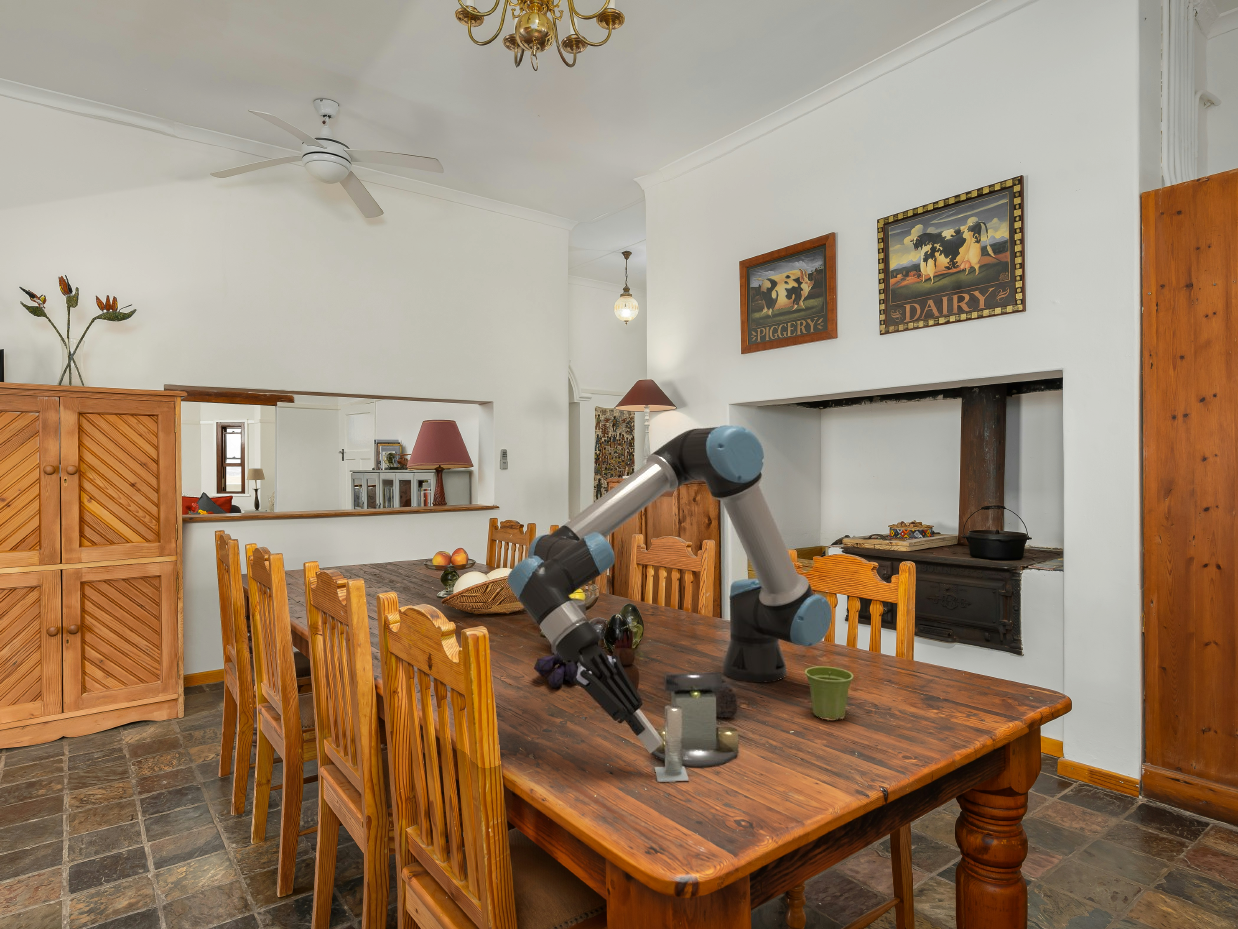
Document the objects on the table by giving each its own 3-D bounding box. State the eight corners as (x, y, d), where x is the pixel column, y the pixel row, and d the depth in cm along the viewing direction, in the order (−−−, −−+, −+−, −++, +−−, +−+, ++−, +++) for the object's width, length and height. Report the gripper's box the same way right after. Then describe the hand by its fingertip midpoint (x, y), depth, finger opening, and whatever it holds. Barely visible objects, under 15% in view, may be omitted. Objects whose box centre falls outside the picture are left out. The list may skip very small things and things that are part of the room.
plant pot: (853, 710, 140) (853, 668, 140) (853, 727, 131) (853, 682, 131) (806, 705, 143) (806, 664, 143) (803, 721, 134) (803, 677, 134)
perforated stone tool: (695, 698, 148) (695, 666, 148) (719, 697, 149) (719, 665, 149) (714, 724, 133) (714, 688, 134) (740, 722, 134) (739, 687, 134)
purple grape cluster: (541, 642, 172) (530, 658, 152) (586, 647, 172) (581, 663, 152) (538, 671, 171) (527, 690, 151) (583, 676, 171) (578, 696, 151)
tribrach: (727, 729, 130) (727, 659, 131) (747, 766, 114) (747, 686, 114) (644, 731, 130) (644, 661, 130) (653, 768, 113) (653, 688, 113)
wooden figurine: (643, 696, 149) (642, 628, 149) (632, 704, 144) (632, 634, 144) (615, 692, 152) (615, 625, 152) (604, 700, 147) (603, 631, 147)
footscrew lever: (652, 747, 120) (651, 691, 120) (672, 746, 120) (671, 690, 120) (664, 773, 110) (664, 711, 110) (686, 771, 110) (686, 710, 110)
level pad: (684, 768, 114) (684, 766, 114) (688, 782, 109) (688, 780, 109) (654, 769, 113) (654, 767, 113) (657, 782, 108) (657, 781, 108)
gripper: (576, 639, 126) (657, 747, 118) (537, 655, 114) (625, 775, 106) (601, 613, 123) (686, 722, 116) (565, 627, 112) (656, 748, 104)
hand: (657, 747), depth 111 cm, fingers closed
